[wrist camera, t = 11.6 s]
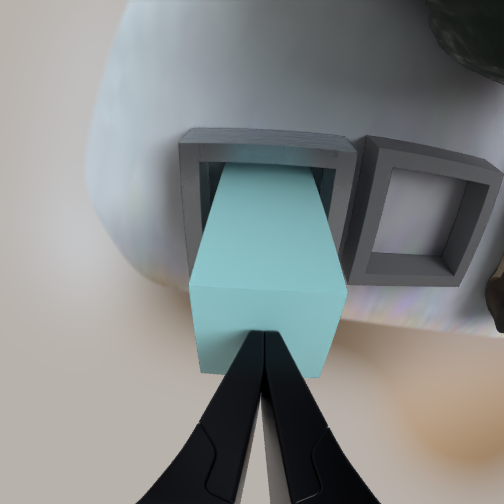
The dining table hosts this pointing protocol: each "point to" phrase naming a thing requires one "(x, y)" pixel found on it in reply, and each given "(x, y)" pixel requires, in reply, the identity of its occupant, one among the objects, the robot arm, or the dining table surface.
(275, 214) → the plug
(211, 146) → the port block
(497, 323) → the black sponge
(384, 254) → the grey square frame
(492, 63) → the squash
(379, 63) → the dining table surface
